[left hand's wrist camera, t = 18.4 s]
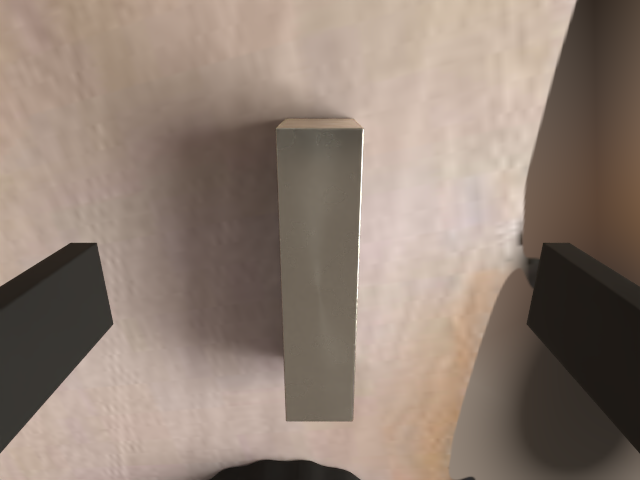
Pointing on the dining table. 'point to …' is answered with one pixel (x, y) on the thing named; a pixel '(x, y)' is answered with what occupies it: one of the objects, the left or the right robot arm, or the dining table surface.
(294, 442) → the dining table surface
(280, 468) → the sign
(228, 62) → the dining table surface
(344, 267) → the bar
